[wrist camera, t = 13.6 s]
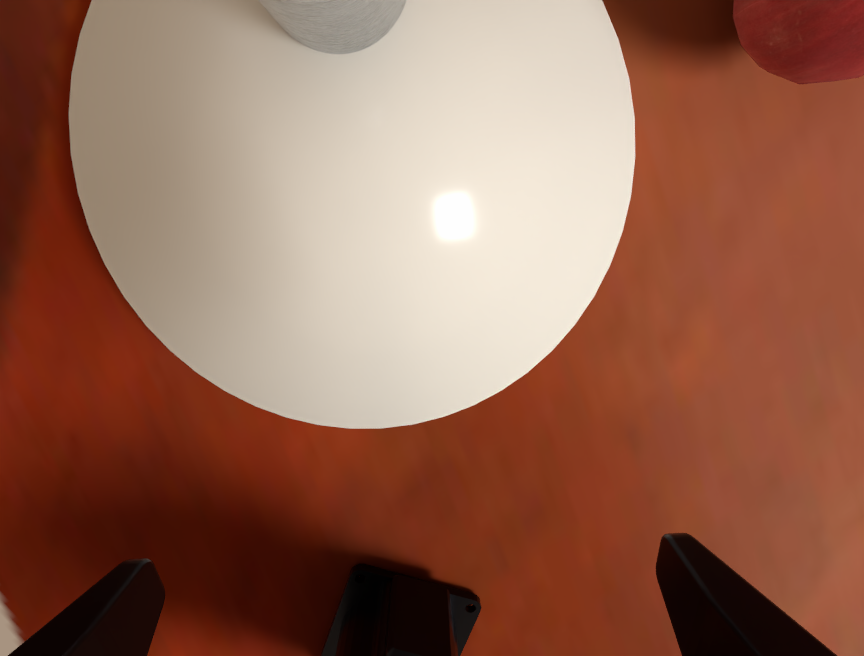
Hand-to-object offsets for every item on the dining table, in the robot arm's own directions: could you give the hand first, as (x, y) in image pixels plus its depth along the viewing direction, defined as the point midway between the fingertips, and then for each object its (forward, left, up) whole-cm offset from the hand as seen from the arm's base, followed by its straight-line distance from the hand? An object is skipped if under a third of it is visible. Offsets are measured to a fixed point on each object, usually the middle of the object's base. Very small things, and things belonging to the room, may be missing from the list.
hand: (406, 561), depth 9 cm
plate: (+6, +4, -12) cm, 14 cm away
